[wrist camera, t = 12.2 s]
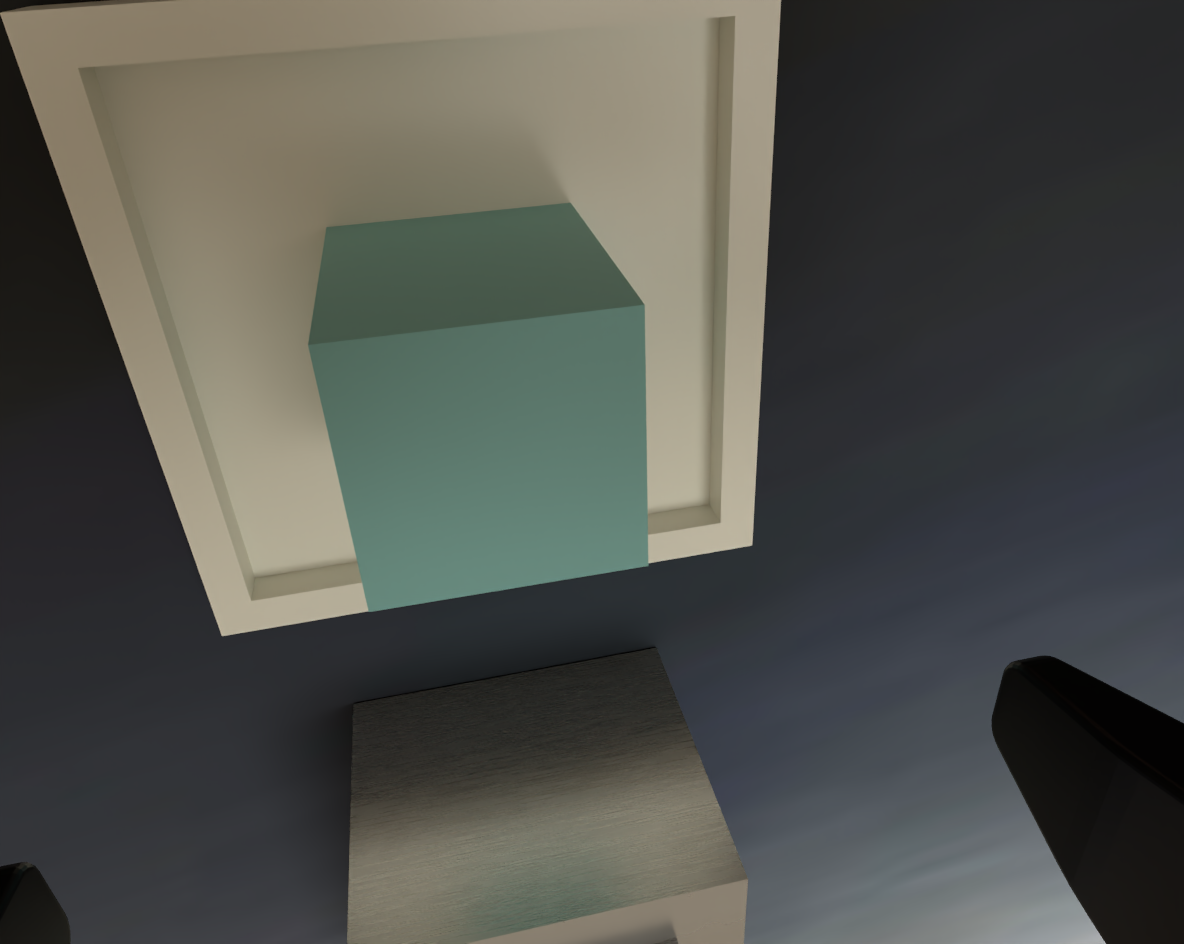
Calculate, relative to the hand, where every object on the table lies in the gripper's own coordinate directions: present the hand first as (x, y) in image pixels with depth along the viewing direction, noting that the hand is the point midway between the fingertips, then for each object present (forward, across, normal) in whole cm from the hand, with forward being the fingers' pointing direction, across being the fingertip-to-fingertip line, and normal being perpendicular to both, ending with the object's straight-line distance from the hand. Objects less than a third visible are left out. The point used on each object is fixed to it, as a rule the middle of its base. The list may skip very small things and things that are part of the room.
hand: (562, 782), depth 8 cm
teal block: (+11, 0, 0) cm, 11 cm away
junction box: (+12, 0, +15) cm, 19 cm away
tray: (+12, 0, 0) cm, 12 cm away
